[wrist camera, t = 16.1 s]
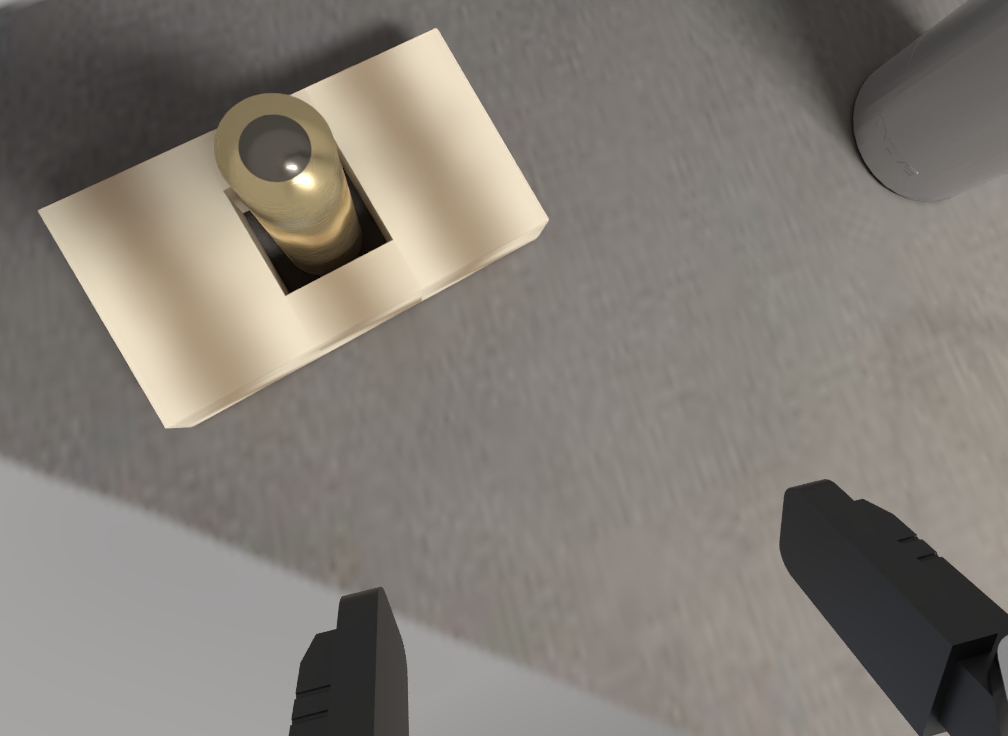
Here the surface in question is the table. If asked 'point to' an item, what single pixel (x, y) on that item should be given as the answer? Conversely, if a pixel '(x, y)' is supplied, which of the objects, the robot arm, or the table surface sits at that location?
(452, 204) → the jig
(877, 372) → the table surface
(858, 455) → the table surface
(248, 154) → the bushing
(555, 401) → the table surface
